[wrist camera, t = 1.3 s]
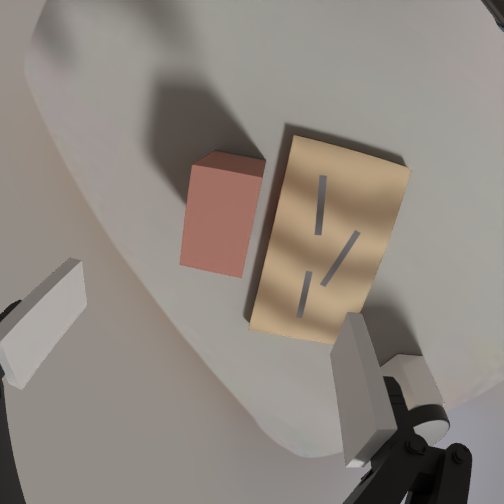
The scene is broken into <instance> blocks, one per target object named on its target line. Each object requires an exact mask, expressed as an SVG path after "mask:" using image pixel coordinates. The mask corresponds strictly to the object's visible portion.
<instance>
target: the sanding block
mask: <svg viewBox="0 0 504 504" xmlns="http://www.w3.org/2000/svg"><path fill="white" fill-rule="evenodd" d="M265 163H266V160H264V159H259V158H254V157H249V156H244V155H239V154H233V153H228V152H222V151H217V150H215V151H213V152H211V153H210V154H208V155H207V156H205V157H203V158H202V159H200V160H199V161H197V162H195V163H194V164H192V169H191V175H190V182H189V190H188V197H187V205H186V212H185V220H184V229H183V237H182V247H181V256H180V265H183V266H187V267H192V268H196V269H201V270H206V271H210V272H215V273H220V274H225V275H229V276H234V277H239V278H242V274H243V269H244V264H245V259H246V255H247V250H248V245H249V240H250V235H251V231H252V226H253V221H254V216H255V212H256V207H257V202H258V197H259V192H260V188H261V183H262V178H263V173H264V168H265Z"/></svg>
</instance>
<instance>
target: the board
mask: <svg viewBox="0 0 504 504" xmlns="http://www.w3.org/2000/svg"><path fill="white" fill-rule="evenodd" d="M410 172H411V169H410V168H408V167H406V166H403V165H400V164H397V163H394V162H391V161H388V160H385V159H381V158H378V157H375V156H372V155H368V154H365V153H362V152H358V151H355V150H352V149H348V148H344V147H341V146H337V145H333V144H330V143H326V142H322V141H318V140H314V139H310V138H306V137H302V136H297V135H293V138H292V143H291V147H290V152H289V156H288V161H287V165H286V169H285V174H284V178H283V183H282V187H281V191H280V196H279V200H278V204H277V209H276V213H275V217H274V222H273V226H272V230H271V235H270V239H269V243H268V247H267V252H266V256H265V260H264V264H263V268H262V273H261V277H260V281H259V285H258V289H257V294H256V298H255V302H254V306H253V310H252V314H251V318H250V322H249V329H248V330H253V331H259V332H264V333H269V334H275V335H280V336H286V337H292V338H298V339H304V340H310V341H316V342H323V343H329V344H335V341H336V339H337V337H338V334H339V332H340V329H341V327H342V324H343V322H344V319H345V317H346V314H347V312H353V313H360V311H361V309H362V307H363V304H364V302H365V300H366V297H367V295H368V292H369V290H370V288H371V285H372V283H373V280H374V278H375V275H376V273H377V270H378V267H379V265H380V262H381V260H382V257H383V254H384V252H385V249H386V246H387V243H388V241H389V238H390V235H391V232H392V229H393V226H394V223H395V220H396V217H397V214H398V211H399V208H400V205H401V202H402V199H403V196H404V193H405V189H406V186H407V183H408V179H409V176H410Z"/></svg>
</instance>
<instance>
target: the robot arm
mask: <svg viewBox="0 0 504 504" xmlns="http://www.w3.org/2000/svg"><path fill="white" fill-rule="evenodd" d="M481 1H482V2H483V4H484V5H485V6H486V8H487V9H488V10H489V11H490V13H491V14H492V15H493V17H494V18H495V21H496V23H497V25H498V26H499V28H500V29H501V30H502V31H503V32H504V0H481ZM86 306H87V301H86V294H85V285H84V277H83V268H82V261H81V260H77V259H73V258H69V259H68V260H67V261H66V262H65V263H63V264H62V265H61V266H60V267H59V268H58V269H56V270H55V271H54V272H53V273H52V274H51V275H50V276H48V277H47V278H46V279H45V280H44V281H43V282H42V283H41V284H40V285H39V286H37V287H36V288H35V289H34V290H33V291H32V292H31V293H30V294H29V295H28V296H27V297H26V298H25V299H24V300H18V301H16V302H14V303H12V304H11V305H9V306H8V307H7V308H6V309H5V310H4V312H2V313H1V314H0V504H26V502H25V499H24V496H23V492H22V489H21V485H20V481H19V478H18V474H17V469H16V465H15V461H14V456H13V451H12V446H11V440H10V435H9V429H8V422H7V414H6V406H5V398H4V385H3V382H2V377H3V376H4V375H5V376H6V378H7V380H8V382H9V384H11V385H13V386H15V387H17V388H19V389H20V390H22V389H23V388H24V386H25V385H26V384H27V382H28V381H29V379H30V378H31V377H32V375H33V374H34V372H35V371H36V370H37V368H38V367H39V366H40V364H41V363H42V362H43V360H44V359H45V358H46V356H47V355H48V354H49V352H50V351H51V350H52V348H53V347H54V346H55V345H56V343H57V342H58V341H59V339H60V338H61V337H62V336H63V334H64V333H65V332H66V331H67V329H68V328H69V327H70V325H71V324H72V323H73V322H74V321H75V319H76V318H77V317H78V316H79V314H80V313H81V312H82V311H83V310H84V308H85V307H86ZM330 357H331V363H332V370H333V376H334V382H335V389H336V396H337V403H338V410H339V417H340V425H341V433H342V441H343V449H344V458H345V467H364V466H365V465H366V464H367V463H368V462H369V461H371V467H372V468H371V469H370V471H368V472H367V473H366V474H365V475H364V476H363V477H362V478H361V482H360V483H359V484H358V486H357V487H356V488H355V489H354V491H353V492H352V493H351V494H350V495H349V497H348V498H347V499H346V500H345V501H344V502H343V504H400V503H401V502H402V500H403V498H404V497H405V495H406V493H407V492H408V494H407V497H406V500H405V504H467V500H468V493H469V486H470V477H471V468H472V454H471V453H470V451H469V449H468V448H467V447H466V446H465V445H462V444H461V443H454V444H451V445H450V446H449V447H448V448H447V449H446V450H445V449H440V448H435V447H431V446H428V444H427V442H426V440H425V439H424V438H423V437H422V436H420V435H418V434H416V433H415V431H414V427H413V424H412V421H411V417H410V414H409V411H408V408H407V405H406V402H405V398H404V397H403V392H402V389H401V386H400V385H399V383H398V382H397V381H396V380H395V378H394V377H391V376H382V373H381V369H380V366H379V363H378V360H377V357H376V354H375V351H374V347H373V344H372V341H371V338H370V335H369V332H368V329H367V327H366V324H365V321H364V318H363V315H362V314H360V313H353V312H347V314H346V317H345V319H344V322H343V324H342V327H341V329H340V332H339V334H338V337H337V339H336V341H335V344H334V346H333V349H332V351H331V353H330Z"/></svg>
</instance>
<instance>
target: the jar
mask: <svg viewBox="0 0 504 504" xmlns="http://www.w3.org/2000/svg"><path fill="white" fill-rule="evenodd" d="M380 369H381V373H382V376H391V377H394V378H395V380H396V381H397V382H398V383H399V385H400V386H401V389H402V392H403V397H404V398H405V402H406V405H407V408H408V411H409V414H410V417H411V421H412V424H413V427H414V431H415V433H416V434H418V435H420V436H422V437H423V438H424V439H425V440H426V442H427V444H428V446H432V445H434V444H436V443H437V442H438V441H439V440H441V439H442V438H443V437H444V436H445V435H446V433H447V432H448V430H449V428H450V422H449V420H448V417H447V415H446V412H445V410H444V401H443V398H442V396H441V394H440V391H439V389H438V387H437V385H436V382H435V380H434V378H433V376H432V374H431V371H430V369H429V367H428V365H427V363H426V361H425V359H424V357H423V356H416V355H404V354H397V355H396V356H394V357H393V358H392V359H390V360H389V361H388V362H386V363H385V364H384V365H382V366H381V367H380Z"/></svg>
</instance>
